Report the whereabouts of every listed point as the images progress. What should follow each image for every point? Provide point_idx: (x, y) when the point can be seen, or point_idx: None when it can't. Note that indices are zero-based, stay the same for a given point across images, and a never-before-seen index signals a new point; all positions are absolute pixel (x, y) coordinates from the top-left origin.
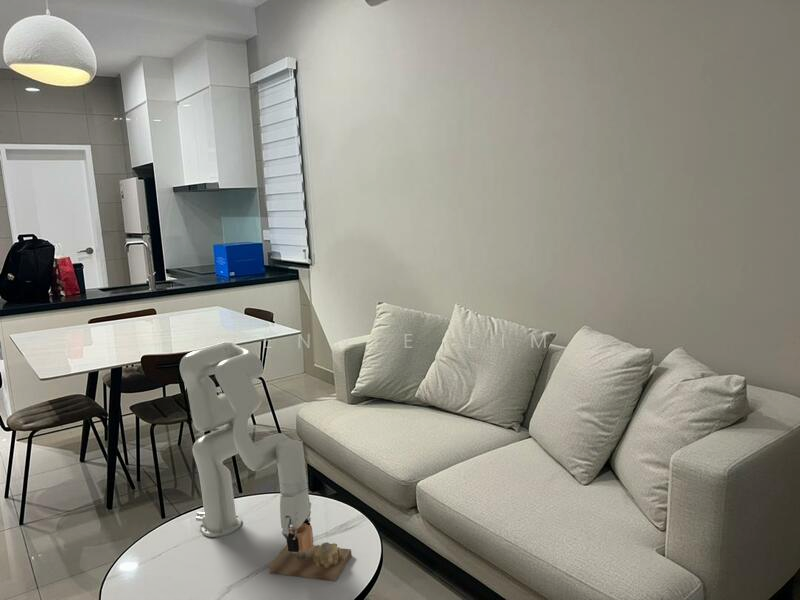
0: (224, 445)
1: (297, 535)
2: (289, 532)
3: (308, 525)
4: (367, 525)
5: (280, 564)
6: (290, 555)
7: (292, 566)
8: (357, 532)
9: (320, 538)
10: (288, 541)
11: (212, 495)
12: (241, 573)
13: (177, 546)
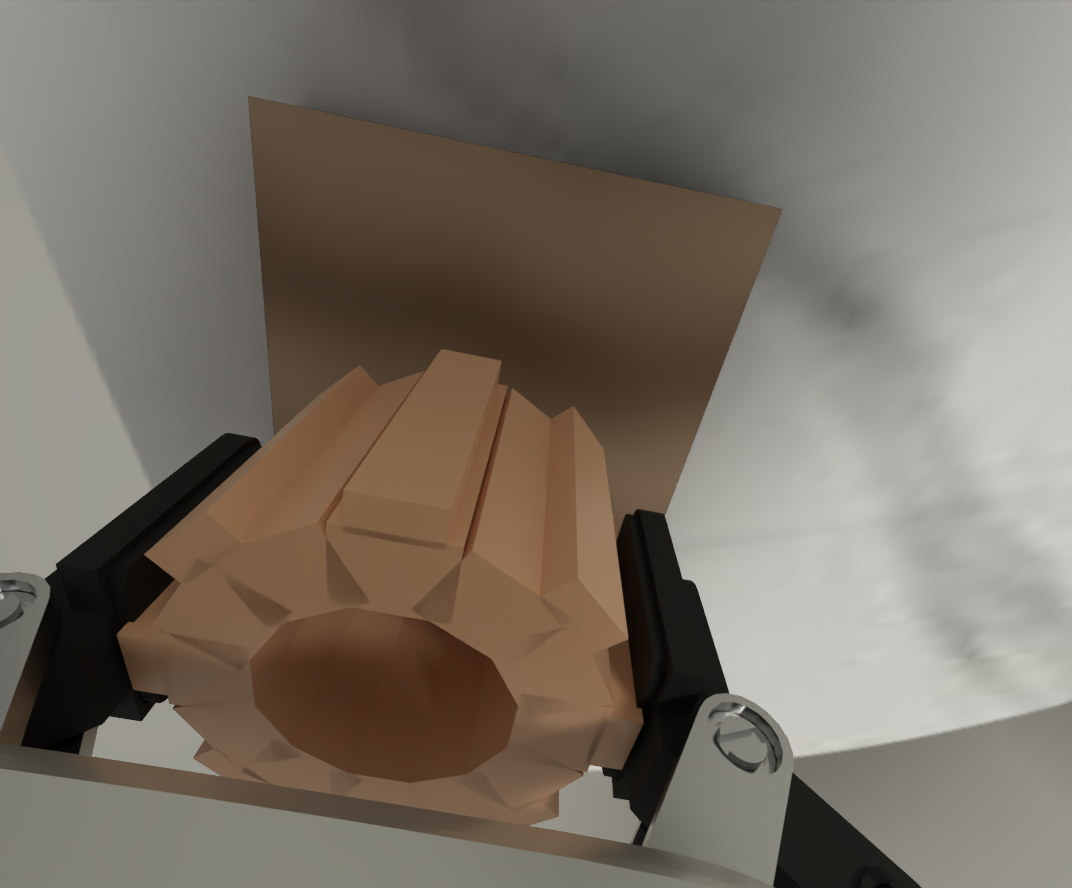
0: None
1: (197, 715)
2: (25, 706)
3: (539, 799)
4: (946, 730)
5: (319, 246)
6: (499, 315)
7: (315, 386)
8: (873, 689)
9: (879, 473)
10: (55, 576)
11: None
12: None
13: None
